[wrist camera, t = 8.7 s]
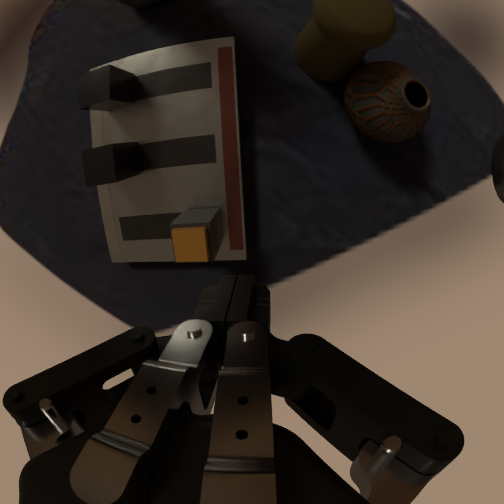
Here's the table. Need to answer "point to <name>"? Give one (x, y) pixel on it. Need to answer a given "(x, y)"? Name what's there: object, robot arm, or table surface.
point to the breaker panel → (166, 146)
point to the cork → (342, 36)
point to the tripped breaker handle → (196, 235)
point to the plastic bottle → (139, 3)
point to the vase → (387, 101)
